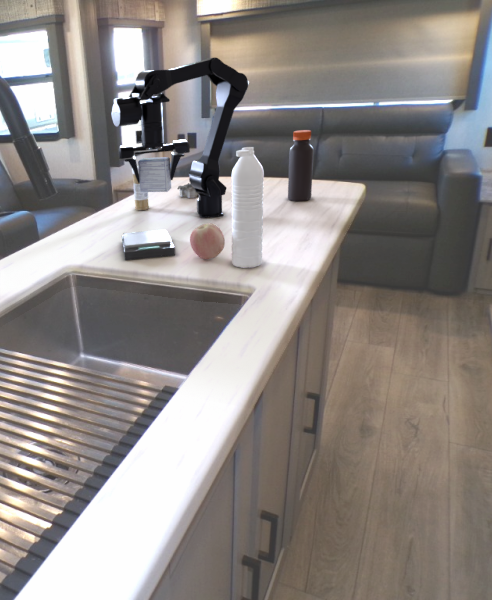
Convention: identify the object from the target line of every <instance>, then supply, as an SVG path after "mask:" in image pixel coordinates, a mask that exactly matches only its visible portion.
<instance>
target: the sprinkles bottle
mask: <svg viewBox="0 0 492 600" xmlns="http://www.w3.org/2000/svg"><path fill="white" fill-rule="evenodd" d="M137 168H138V173H139V167H138V165H137ZM131 174H132V180H133V182H132V183H133V197H134V209H135V210H137V211H146V210H148V209H149V208H150V205H149V192H140V183H138V181H137V178H136V176H135V173H134V171H133V169H132V168H131Z"/></svg>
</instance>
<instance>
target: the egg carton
mask: <svg viewBox="0 0 492 600" xmlns="http://www.w3.org/2000/svg"><path fill="white" fill-rule="evenodd" d="M177 190H179V196H180V198H185V197H186V198H188V199H193V198H198V197H199V195H198V194H199V193H196V192H195V189H194V187H193V186H192V185H191V183H190V182H188V183H187V184H186V183H185V184H184V185H178V187H177Z"/></svg>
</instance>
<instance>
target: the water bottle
mask: <svg viewBox="0 0 492 600" xmlns="http://www.w3.org/2000/svg"><path fill="white" fill-rule="evenodd" d="M235 157H237V158H238V157H239V158H238V160H237V161H236V163H235V165H234V166H233V168H232V169H231V170H232V171H231V177H230V178H231V264H232V265H233V266H234V267H237V268H242V269H248V268H249V269H252V268H253V269H254V268H256V267H259V266H261V265H262V263H263V232H264V231H263V230H264V228H263V225H264V218H263V217H264V177H265V171H264V167H263V165H262V164H261V162H260V161H259V159H258V158H257V157H256V155H255V150H254V146H246V147H245V146H244V147H242V148H241V149H238V150H236V151H235Z"/></svg>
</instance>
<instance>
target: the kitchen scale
mask: <svg viewBox="0 0 492 600" xmlns="http://www.w3.org/2000/svg"><path fill="white" fill-rule="evenodd" d="M121 244H122V251H123V257H124V261H133V260H141V259H142V260H143V259H155V258H162V257H173V256H176V248H175V245H174V243H173V240H172V237H171V236H170V234H169V232H168V230H166V228H165V229H164V228H163V229H154V230H143V231H135V232H124V233H123V235H121Z"/></svg>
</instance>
